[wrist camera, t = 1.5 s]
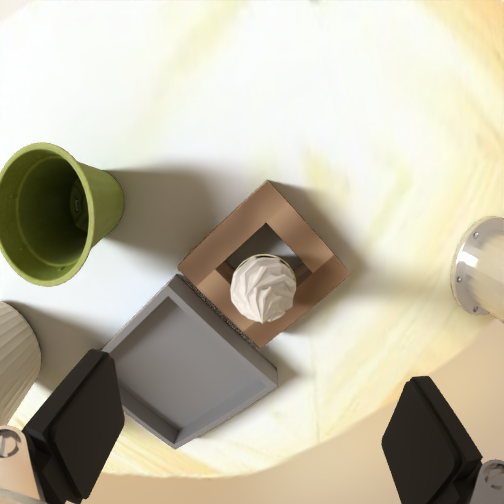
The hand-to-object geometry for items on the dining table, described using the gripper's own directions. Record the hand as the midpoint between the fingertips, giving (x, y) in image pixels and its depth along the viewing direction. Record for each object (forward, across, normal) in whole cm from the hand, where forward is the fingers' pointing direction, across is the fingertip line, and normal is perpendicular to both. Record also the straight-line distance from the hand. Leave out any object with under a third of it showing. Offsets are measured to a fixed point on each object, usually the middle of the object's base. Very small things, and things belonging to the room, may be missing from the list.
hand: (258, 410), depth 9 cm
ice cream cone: (+25, 0, +2) cm, 25 cm away
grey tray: (+24, +9, +16) cm, 31 cm away
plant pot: (+25, +18, -3) cm, 31 cm away
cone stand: (+24, 0, +2) cm, 25 cm away
